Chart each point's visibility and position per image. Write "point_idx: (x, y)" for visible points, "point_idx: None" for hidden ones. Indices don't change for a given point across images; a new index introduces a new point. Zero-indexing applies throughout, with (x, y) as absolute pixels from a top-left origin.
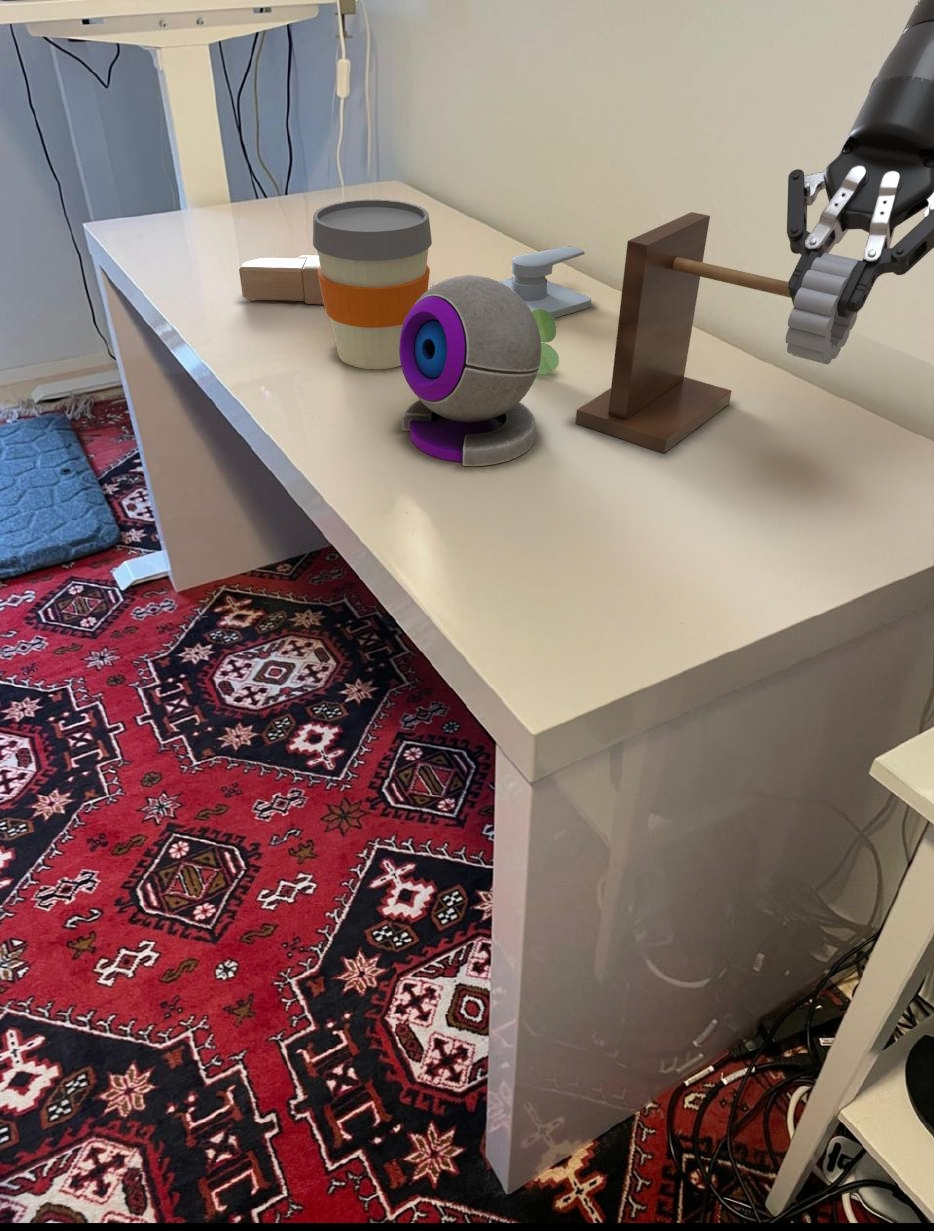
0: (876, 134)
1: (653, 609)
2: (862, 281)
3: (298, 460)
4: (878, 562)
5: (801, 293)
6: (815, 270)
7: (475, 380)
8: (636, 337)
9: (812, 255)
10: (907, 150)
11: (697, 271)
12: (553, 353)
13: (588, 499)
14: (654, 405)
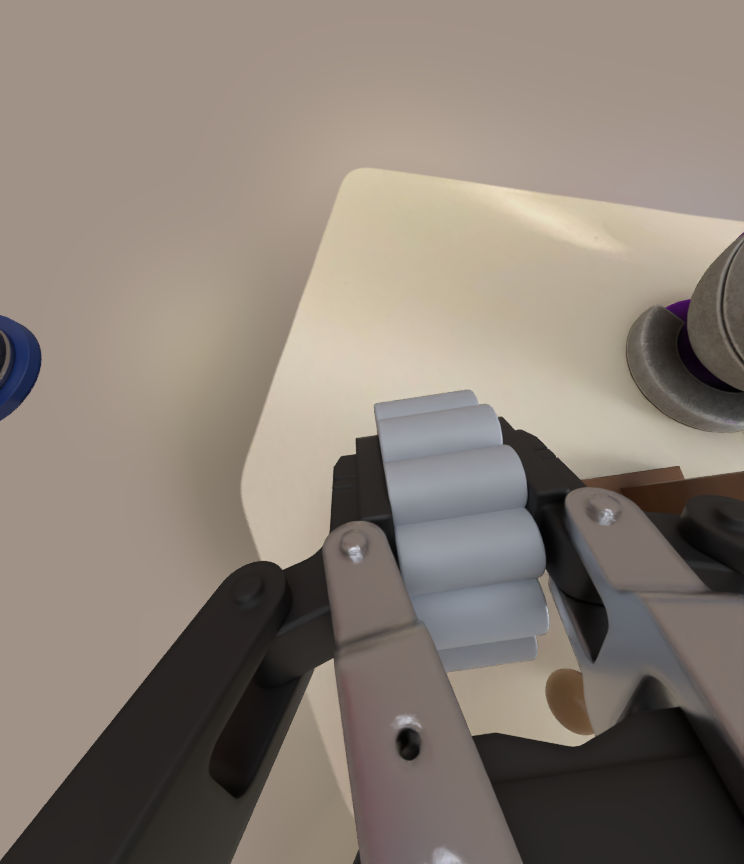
0: None
1: (370, 281)
2: (351, 495)
3: (735, 222)
4: (270, 462)
5: (461, 393)
6: (488, 446)
7: (728, 248)
8: (732, 475)
9: (548, 480)
10: None
11: None
12: None
13: (518, 357)
14: None
